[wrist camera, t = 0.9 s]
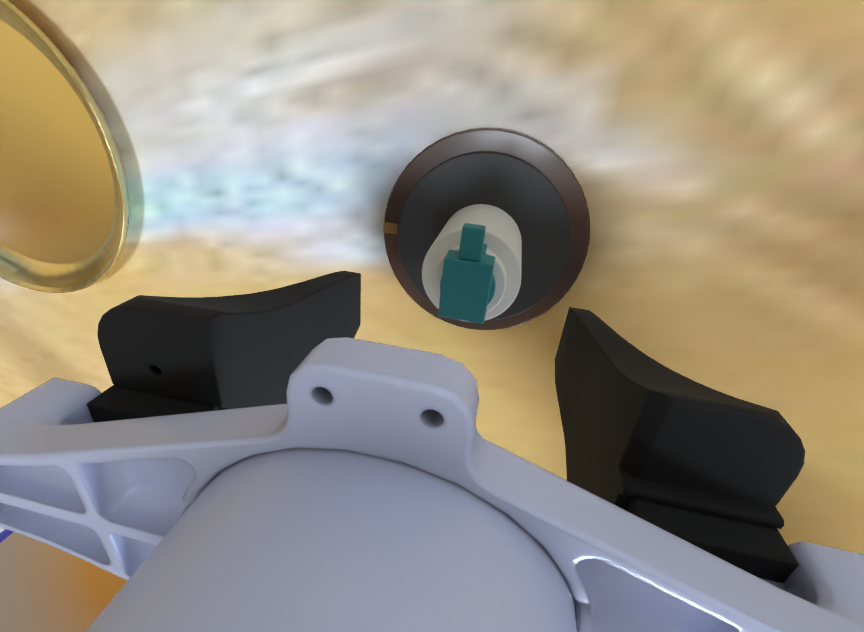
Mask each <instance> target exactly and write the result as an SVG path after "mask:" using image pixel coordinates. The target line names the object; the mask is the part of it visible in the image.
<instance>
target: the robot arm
mask: <svg viewBox="0 0 864 632" xmlns="http://www.w3.org/2000/svg"><path fill="white" fill-rule="evenodd" d="M360 292H361V274H360V273H354V272H347V271H340V272H335V273H331V274H327V275H324V276H321V277H317V278H314V279H311V280H307V281H304V282H301V283H297V284H293V285H289V286H286V287H282V288H278V289H273V290H269V291H263V292H258V293H252V294H244V295H234V296H223V297H204V298H177V297H158V296H143V295H140V296H136V297H134V298H132V299H130V300H128V301H126V302H124V303H122V304H120V305H118V306H116V307H114V308H112V309H110V310H109V311H107V312H106V313H105V314H104V315H103V316H102V318H101V320H100V322H99V324H98V339H99V344H100V348H101V351H102V354H103V357H104V359H105V362H106V365H107V368H108V371H109V374H110V376H111V379H112V382H113V384H114V385H113V386H112V387H110V388H109V389H107V390H106V391H104V392H103V393H101V392H100V391H99V390H98V389H96V388H95V387H93V386H91V385H87V384H83V383H78V382H74V381H69V380H65V379H60V378H52V379H50V380H49V381H47V382H45V383H43V384H42V385H40V386H38V387H37V388H35V389H33V390H31V391H30V392H28V393H26V394H24V395H23V396H21V397H19V398H17V399H16V400H14V401H12V402H11V403H9V404H7V405H5V406H4V407H2V408H0V527H1V528H4V529H7V530H10V531H13V532H16V533H20V534H23V535H26V536H29V537H31V538H34V539H36V540H39V541H41V542H44V543H47V544H49V545H52V546H54V547H56V548H59V549H61V550H63V551H66V552H68V553H70V554H72V555H75V556H77V557H79V558H81V559H84V560H86V561H88V562H90V563H92V564H94V565H96V566H98V567H100V568H102V569H105V570H107V571H109V572H111V573H113V574H115V575H117V576H119V577H122V578H124V579H126V580H128V581H127V582H126V583H125V585H124V586H123V587H122V588H121V589H120V591H119V592H118V593H117V594H116V595H115V597H114V598H113V599H112V600H111V601H110V603H109V604H108V605H107V606H106V607H105V609H104V610H103V611H102V612H101V613H100V615H99V616H98V617H97V618H96V619H95V621H94V622H93V623H92V624H91V625H90V627H89V628H88V629H87V630H86V631H85V632H864V555H863V554H860V553H855V552H850V551H846V550H841V549H837V548H832V547H828V546H823V545H818V544H814V543H809V542H797V543H793V544H790V545H788V546H787V544H786V542H785V541H784V539H783V537H782V536H781V534H780V532H779V531H778V529H777V528H779V529H781V528H782V527H783V526H784V520H783V518H782V517H781V515H780V513H779V512H778V510H777V509H776V507H775V506H776V505H777V504H778V502H779V501H780V500H781V498H782V497H783V496H784V494H785V493H786V491H787V490H788V489H789V487H790V486H791V485H792V483H793V482H794V480H795V479H796V478H797V476H798V475H799V473H800V471H801V469H802V467H803V465H804V458H805V450H804V447H803V444H802V441H801V439H800V437H799V436H798V435H797V434H796V433H795V431H794V430H793V429H792V428H791V426H790V425H789V424H788V423H787V422H786V420H785V419H784V418H783V417H782V416H781V414H780V413H779V412H778V411H776V410H773V409H770V408H766V407H763V406H760V405H757V404H754V403H750V402H747V401H744V400H741V399H738V398H735V397H732V396H729V395H727V394H724V393H721V392H719V391H716V390H714V389H711V388H709V387H706V386H704V385H702V384H699V383H697V382H695V381H693V380H691V379H688V378H686V377H684V376H682V375H680V374H678V373H676V372H674V371H672V370H670V369H669V368H667V367H665V366H663V365H662V364H660V363H658V362H657V361H655V360H653V359H652V358H650V357H648V356H647V355H645V354H644V353H642V352H641V351H640V350H638V349H637V348H636V347H634V346H633V345H631V344H630V343H629V342H627V341H626V340H625V339H624V338H622V337H621V336H620V335H619V334H617V333H616V332H615V331H614V330H613V329H611V328H610V327H609V326H608V325H607V324H606V323H604V322H603V321H602V320H601V319H600V318H598V317H597V316H596V315H595V314H593V313H592V312H591V311H589V310H584V309H577V308H571V307H569V310H568V314H567V318H566V321H565V325H564V328H563V332H562V336H561V339H560V343H559V347H558V350H557V354H556V358H555V384H556V390H557V396H558V402H559V408H560V414H561V420H562V425H563V431H564V437H565V446H566V466H567V481H566V480H564V479H562V478H560V477H558V476H556V475H555V474H553V473H551V472H549V471H547V470H545V469H543V468H541V467H539V466H537V465H535V464H533V463H531V462H529V461H527V460H525V459H523V458H521V457H519V456H517V455H515V454H513V453H511V452H509V451H507V450H505V449H503V448H501V447H499V446H497V445H495V444H493V443H491V442H489V441H487V440H485V439H483V438H482V437H481V435H480V434H479V433H478V432H477V429H476V415H477V409H478V402H479V395H478V388H477V381H476V379H475V378H474V377H473V376H472V374H471V373H470V372H469V371H468V370H467V369H466V367H465V366H464V365H463V364H462V363H460V362H457V361H455V360H453V359H450V358H448V357H446V356H443V355H441V354H435V353H430V352H424V351H419V350H414V349H408V348H403V347H397V346H392V345H386V344H381V343H375V342H370V341H364V340H359V339H354V337H355V335H356V332H357V330H358V328H359V326H360Z"/></svg>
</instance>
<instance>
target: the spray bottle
mask: <svg viewBox="0 0 864 632" xmlns="http://www.w3.org/2000/svg"><path fill="white" fill-rule="evenodd" d="M570 244H571V230H570V222H569V217H568V213H567V210H566V208H565V205H564V203H563V200H562V198H561V196H560V195H559V193H558V191H557V189H556V188H555V187H554V185H553V184H552V183H551V181H550V180H549V179H548V178H547V177H546V176H545V175H544V174H543V173H542V172H541V171H540V170H538V169H537V168H535V167H534V166H532V165H531V164H530V163H528V162H526V161H524V160H522V159H520V158H517V157H514V156H511V155H508V154H504V153H499V152H489V151H480V152H470V153H466V154H462V155H458V156H456V157H453V158H451V159H448V160H446V161H444V162H443V163H441V164H439V165H437V166H436V167H435V168H433V169H432V170H431V171H429V172H428V173H427V174H426V175H425V176H424V177H423V178H422V179H421V180H420V181H419V182H418V183H417V184H416V185H415V187H414V188H413V189H412V191H411V192H410V194H409V196H408V198H407V200H406V202H405V204H404V207H403V209H402V212H401V216H400V220H399V227H398V246H399V253H400V256H401V260H402V263H403V266H404V268H405V271H406V273H407V275H408V276H409V278H410V280H411V282H412V283H413V284H414V286H415V287H416V288H417V290H418V291H419V292H420V293H421V294H422V295H423V296H424V297H425V298H426V299H427V300H429V301H430V302H431V303H432V304H434V305H435V306H436V307H437V308H438V309H439V311H438V316H439V317H445V318H451V319H457V320H461V321H467V322H474V323H480V324H484V322H485V320H498V319H503V318H507V317H511V316H514V315H516V314H519V313H521V312H523V311H525V310H527V309H529V308H531V307H532V306H534V305H535V304H536V303H538V302H539V301H540V300H541V299H543V298H544V297H545V296H546V295H547V294H548V293H549V292H550V291H551V289H552V288H553V287H554V286H555V284H556V283H557V281H558V280H559V278H560V276H561V274H562V272H563V270H564V268H565V266H566V263H567V259H568V256H569V251H570Z"/></svg>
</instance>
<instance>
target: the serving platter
mask: <svg viewBox="0 0 864 632" xmlns="http://www.w3.org/2000/svg"><path fill="white" fill-rule="evenodd" d="M128 224H129V196H128V188H127V182H126V177H125V172H124V168H123V164H122V161H121V157H120V154H119V151H118V148H117V146H116V143H115V140H114V138H113V135H112V133H111V131H110V128H109V126H108V124H107V122H106V120H105V118H104V116H103V114H102V112H101V110H100V108H99V106H98V104H97V103H96V101H95V99H94V97H93V96H92V94H91V92H90V91H89V89H88V88H87V86H86V85H85V83H84V82H83V80H82V79H81V77H80V76H79V74H78V73H77V71H76V70H75V69H74V67H73V66H72V65H71V64H70V62H69V61H68V60H67V58H66V57H65V56H64V54H63V53H62V52H61V51H60V50H59V49H58V48H57V46H56V45H55V44H54V43H53V42H52V41H51V40H50V38H49V37H48V36H47V35H46V34H45V33H44V32H43V31H42V30H41V29H40V28H39V27H38V26H37V25H36V24H35V23H34V22H33V21H32V20H31V19H29V18H28V17H27V16H26V15H25V14H24V13H23V12H22V11H20V10H19V9H18V8H17V7H16V6H15V5H13V4H12V3H11V2H9V1H8V0H0V278H2V279H5V280H7V281H9V282H12V283H14V284H17V285H19V286H22V287H26V288H29V289H33V290H37V291H43V292H51V293H64V292H73V291H77V290H81V289H84V288H87V287H89V286H91V285H93V284H95V283H96V282H98V281H100V280H101V279H102V278H103V277H104V276H106V275H107V274H108V272H109V271H110V270H111V269H112V268H113V266H114V265H115V263H116V262H117V260H118V258H119V256H120V254H121V251H122V249H123V247H124V243H125V240H126V236H127V230H128Z"/></svg>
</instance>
